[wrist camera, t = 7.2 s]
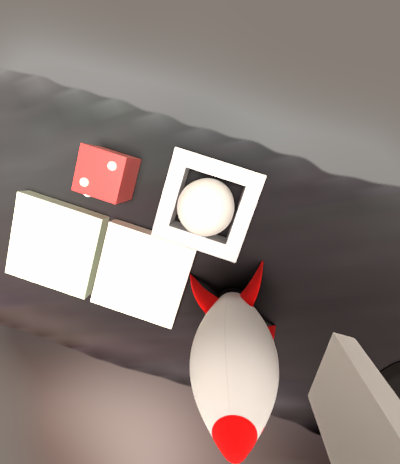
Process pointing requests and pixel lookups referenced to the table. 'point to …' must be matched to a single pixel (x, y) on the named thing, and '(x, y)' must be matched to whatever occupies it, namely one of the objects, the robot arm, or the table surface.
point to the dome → (205, 207)
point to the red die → (105, 174)
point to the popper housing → (174, 186)
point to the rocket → (233, 367)
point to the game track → (97, 258)
